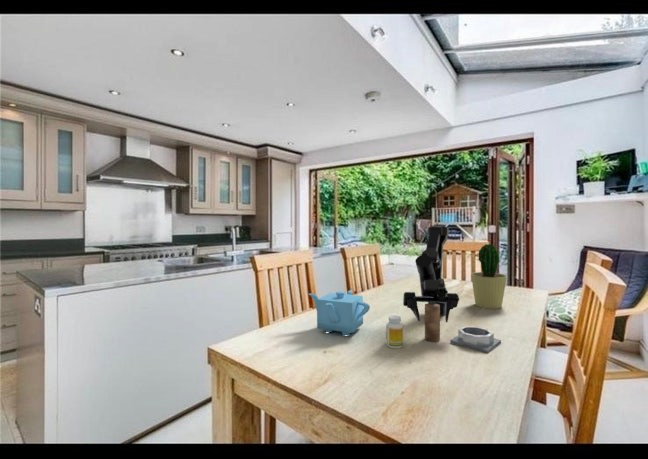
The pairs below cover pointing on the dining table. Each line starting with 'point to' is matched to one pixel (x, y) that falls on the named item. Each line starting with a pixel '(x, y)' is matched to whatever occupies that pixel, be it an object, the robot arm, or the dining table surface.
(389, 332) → the supplement bottle
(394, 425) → the dining table surface
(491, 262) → the potted cactus
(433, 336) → the peg
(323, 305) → the teakettle
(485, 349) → the dock
